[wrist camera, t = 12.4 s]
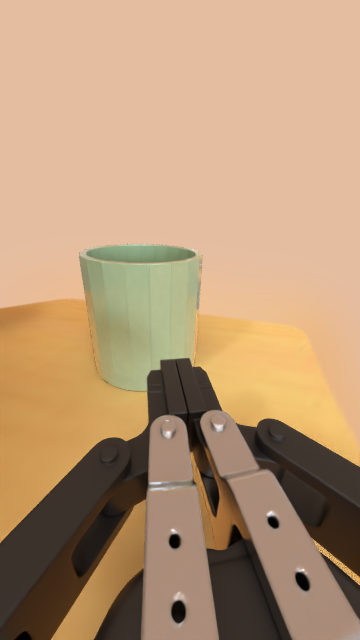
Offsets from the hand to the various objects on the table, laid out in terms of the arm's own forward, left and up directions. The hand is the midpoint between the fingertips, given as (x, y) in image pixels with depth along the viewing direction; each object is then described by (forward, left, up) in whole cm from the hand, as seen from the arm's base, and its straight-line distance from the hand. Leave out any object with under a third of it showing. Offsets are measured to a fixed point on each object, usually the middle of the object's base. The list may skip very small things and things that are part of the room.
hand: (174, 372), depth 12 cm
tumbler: (+6, +12, -8) cm, 15 cm away
